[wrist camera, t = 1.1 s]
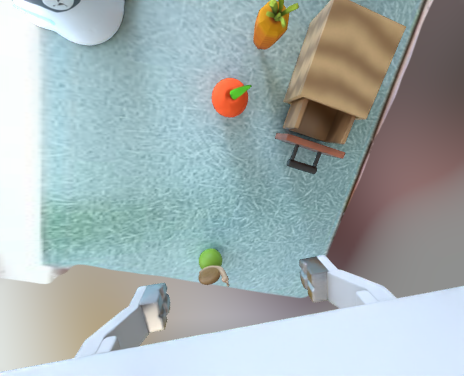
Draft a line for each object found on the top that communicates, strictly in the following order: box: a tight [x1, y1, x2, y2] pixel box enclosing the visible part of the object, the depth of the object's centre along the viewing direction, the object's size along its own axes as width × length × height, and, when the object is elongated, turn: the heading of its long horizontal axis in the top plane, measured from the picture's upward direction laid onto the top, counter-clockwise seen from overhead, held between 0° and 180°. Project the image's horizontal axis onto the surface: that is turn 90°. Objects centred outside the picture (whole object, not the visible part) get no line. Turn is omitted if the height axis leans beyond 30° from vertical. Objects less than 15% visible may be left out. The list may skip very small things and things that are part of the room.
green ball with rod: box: [199, 249, 229, 286], centre depth 47 cm, size 5×6×12 cm
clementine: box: [212, 78, 251, 117], centre depth 41 cm, size 8×7×7 cm
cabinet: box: [283, 0, 406, 120], centre depth 40 cm, size 15×13×9 cm
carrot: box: [254, 0, 299, 50], centre depth 35 cm, size 5×5×15 cm
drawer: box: [275, 97, 356, 174], centre depth 43 cm, size 19×12×7 cm, turn 163°
